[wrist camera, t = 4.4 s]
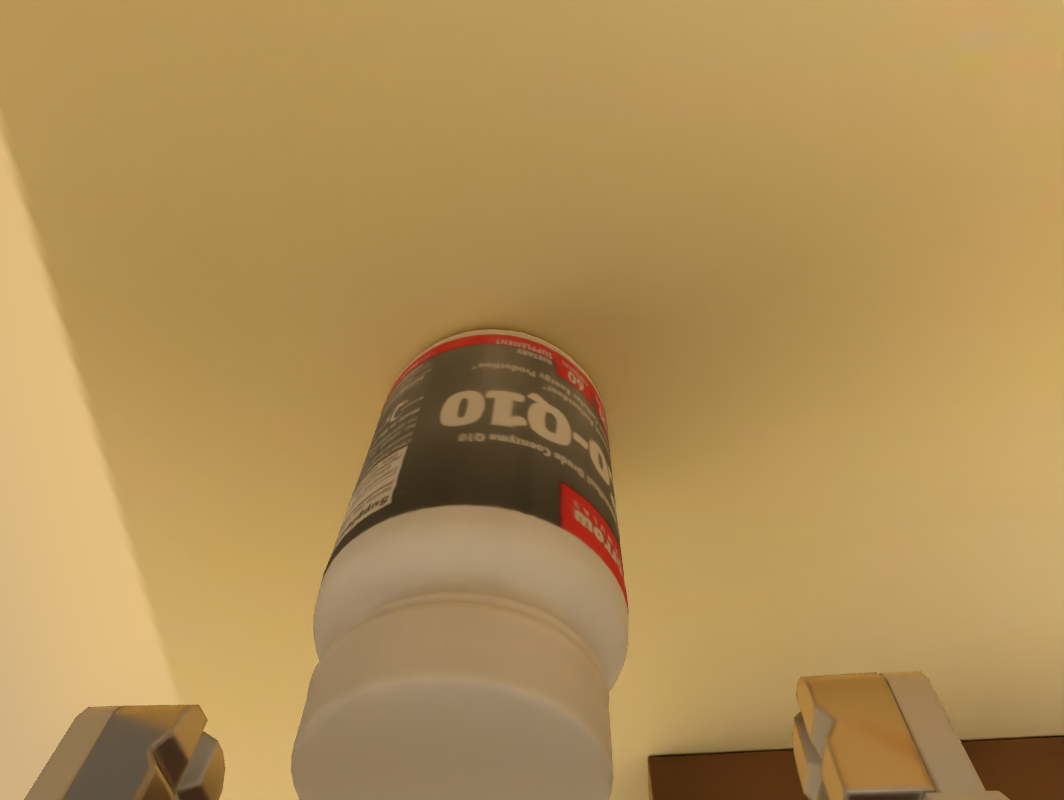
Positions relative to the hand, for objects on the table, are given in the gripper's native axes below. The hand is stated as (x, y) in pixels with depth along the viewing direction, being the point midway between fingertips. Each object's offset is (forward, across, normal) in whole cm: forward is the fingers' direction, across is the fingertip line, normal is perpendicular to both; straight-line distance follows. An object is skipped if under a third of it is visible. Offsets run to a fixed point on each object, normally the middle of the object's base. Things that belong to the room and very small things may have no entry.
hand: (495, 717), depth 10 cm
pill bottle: (+7, 0, 0) cm, 7 cm away
